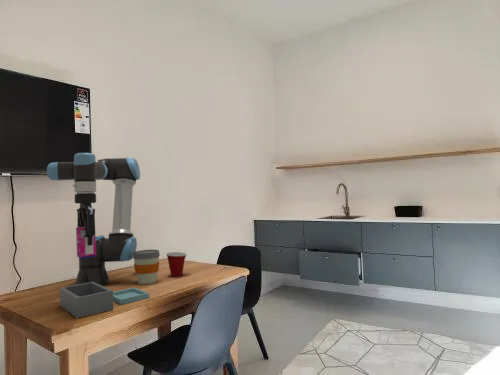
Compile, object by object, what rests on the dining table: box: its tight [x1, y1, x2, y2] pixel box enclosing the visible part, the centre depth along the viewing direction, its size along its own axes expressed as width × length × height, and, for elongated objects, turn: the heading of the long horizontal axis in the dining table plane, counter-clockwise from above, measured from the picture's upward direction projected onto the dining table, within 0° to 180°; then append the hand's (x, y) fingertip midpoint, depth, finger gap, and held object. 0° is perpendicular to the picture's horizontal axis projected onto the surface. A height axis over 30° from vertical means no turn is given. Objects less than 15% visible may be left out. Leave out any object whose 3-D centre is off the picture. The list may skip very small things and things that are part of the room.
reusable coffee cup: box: [133, 249, 161, 285], centre depth 168 cm, size 12×13×15 cm
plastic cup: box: [165, 251, 187, 278], centre depth 179 cm, size 11×11×12 cm
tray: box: [113, 287, 150, 306], centre depth 140 cm, size 14×12×2 cm
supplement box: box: [75, 227, 96, 259], centre depth 130 cm, size 6×6×12 cm
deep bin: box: [59, 282, 114, 319], centre depth 129 cm, size 21×12×7 cm, turn 43°
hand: (86, 252), depth 130 cm, fingers closed on supplement box, 6 cm apart
